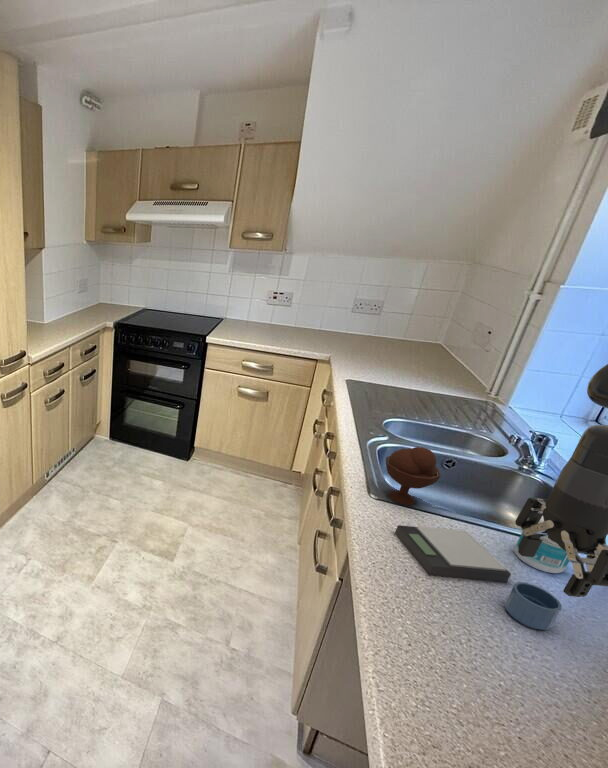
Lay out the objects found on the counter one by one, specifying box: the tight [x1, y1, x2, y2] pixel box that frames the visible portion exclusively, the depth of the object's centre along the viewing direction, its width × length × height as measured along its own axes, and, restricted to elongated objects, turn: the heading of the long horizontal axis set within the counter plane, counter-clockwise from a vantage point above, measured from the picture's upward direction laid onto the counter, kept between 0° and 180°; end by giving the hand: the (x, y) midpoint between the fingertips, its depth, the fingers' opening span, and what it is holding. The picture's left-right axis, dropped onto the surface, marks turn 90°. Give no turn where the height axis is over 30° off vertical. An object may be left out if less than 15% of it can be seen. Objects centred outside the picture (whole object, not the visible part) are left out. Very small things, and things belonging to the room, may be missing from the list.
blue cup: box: [503, 581, 563, 631], centre depth 71 cm, size 6×6×5 cm
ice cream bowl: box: [385, 446, 441, 506], centre depth 101 cm, size 11×11×15 cm
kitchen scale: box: [394, 525, 512, 583], centre depth 85 cm, size 14×12×3 cm
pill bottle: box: [514, 516, 570, 574], centre depth 82 cm, size 8×7×14 cm
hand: (547, 573), depth 69 cm, fingers open, 8 cm apart
